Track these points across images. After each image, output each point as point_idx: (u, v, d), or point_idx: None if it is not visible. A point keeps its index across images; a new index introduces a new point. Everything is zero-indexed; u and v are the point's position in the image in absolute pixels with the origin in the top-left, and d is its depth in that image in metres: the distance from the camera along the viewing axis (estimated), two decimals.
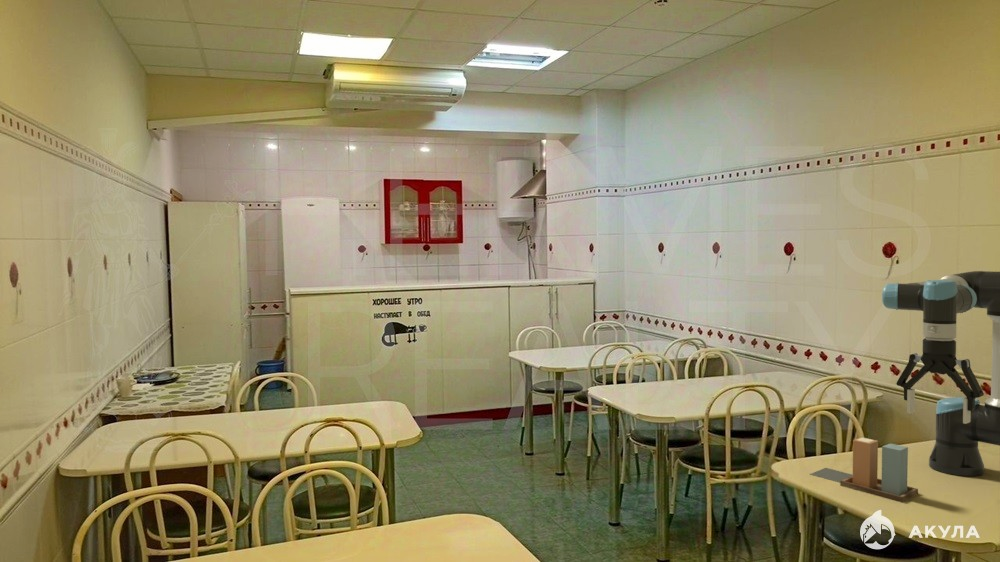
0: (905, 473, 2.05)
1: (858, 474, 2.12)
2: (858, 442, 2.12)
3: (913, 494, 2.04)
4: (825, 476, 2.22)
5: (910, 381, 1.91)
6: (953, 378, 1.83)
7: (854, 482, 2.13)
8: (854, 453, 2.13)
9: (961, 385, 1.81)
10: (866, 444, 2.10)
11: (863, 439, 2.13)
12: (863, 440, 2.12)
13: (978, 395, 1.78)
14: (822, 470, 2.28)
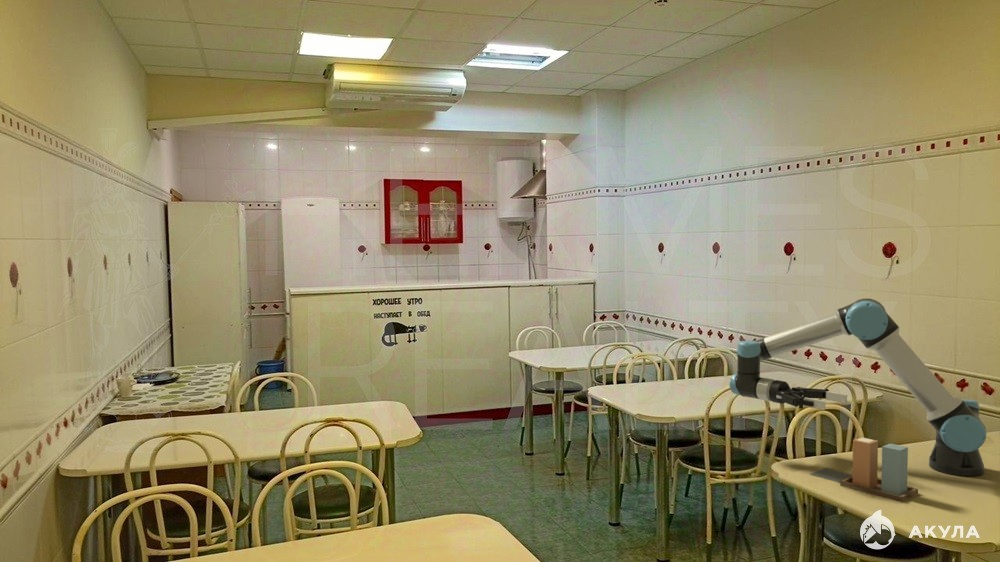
0: (905, 473, 2.05)
1: (858, 474, 2.12)
2: (858, 442, 2.12)
3: (913, 494, 2.04)
4: (825, 476, 2.22)
5: None
6: None
7: (854, 482, 2.13)
8: (854, 453, 2.13)
9: None
10: (866, 444, 2.10)
11: (863, 439, 2.13)
12: (863, 440, 2.12)
13: None
14: (822, 470, 2.28)
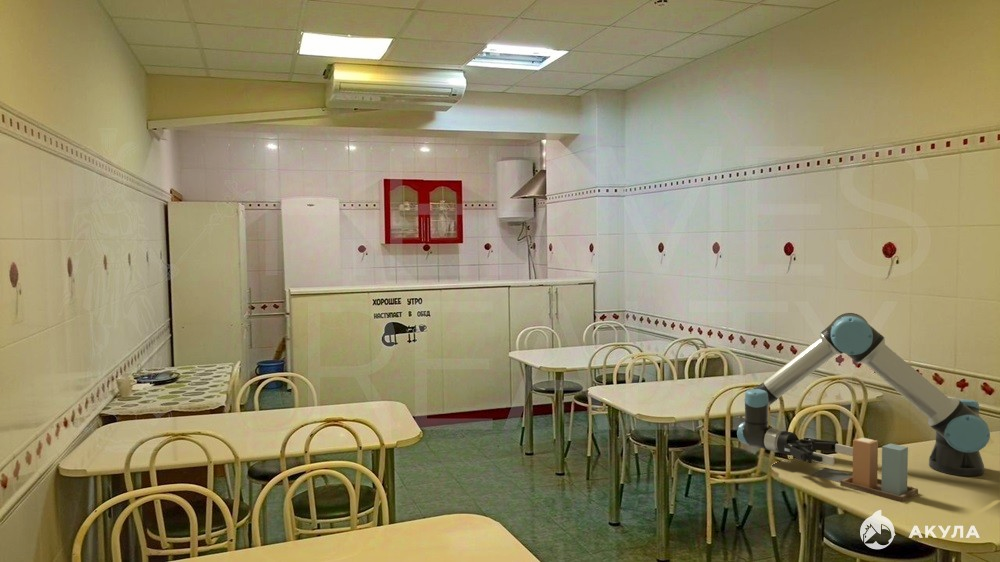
0: (905, 473, 2.05)
1: (858, 474, 2.12)
2: (858, 442, 2.12)
3: (913, 494, 2.04)
4: (825, 476, 2.22)
5: None
6: None
7: (854, 482, 2.13)
8: (854, 453, 2.13)
9: None
10: (866, 444, 2.10)
11: (863, 439, 2.13)
12: (863, 440, 2.12)
13: None
14: (822, 470, 2.28)
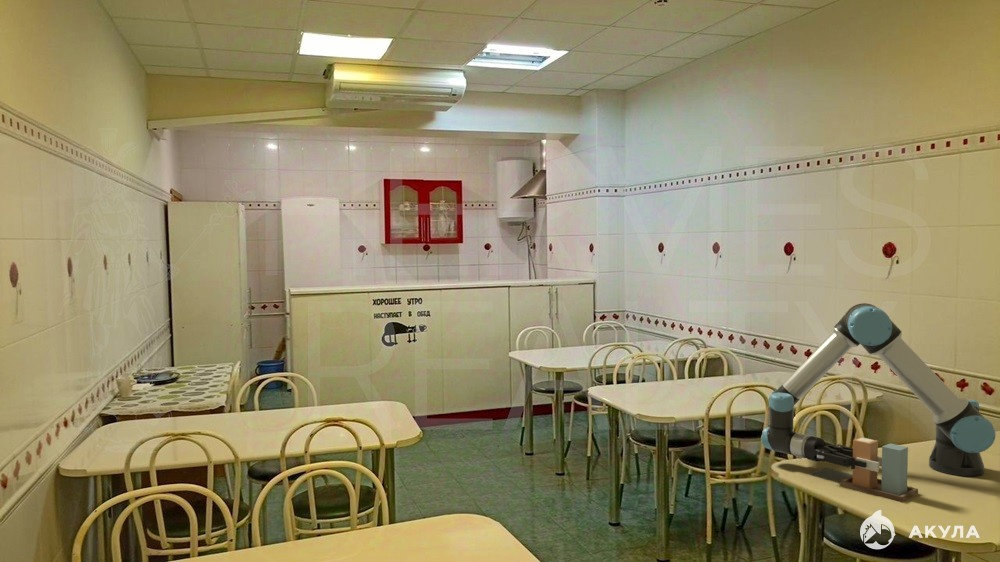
0: (905, 473, 2.05)
1: (858, 474, 2.12)
2: (858, 442, 2.12)
3: (913, 494, 2.04)
4: (825, 476, 2.22)
5: None
6: None
7: (854, 482, 2.13)
8: (854, 453, 2.13)
9: None
10: (866, 444, 2.10)
11: (863, 439, 2.13)
12: (863, 440, 2.12)
13: (847, 466, 2.11)
14: (822, 470, 2.28)
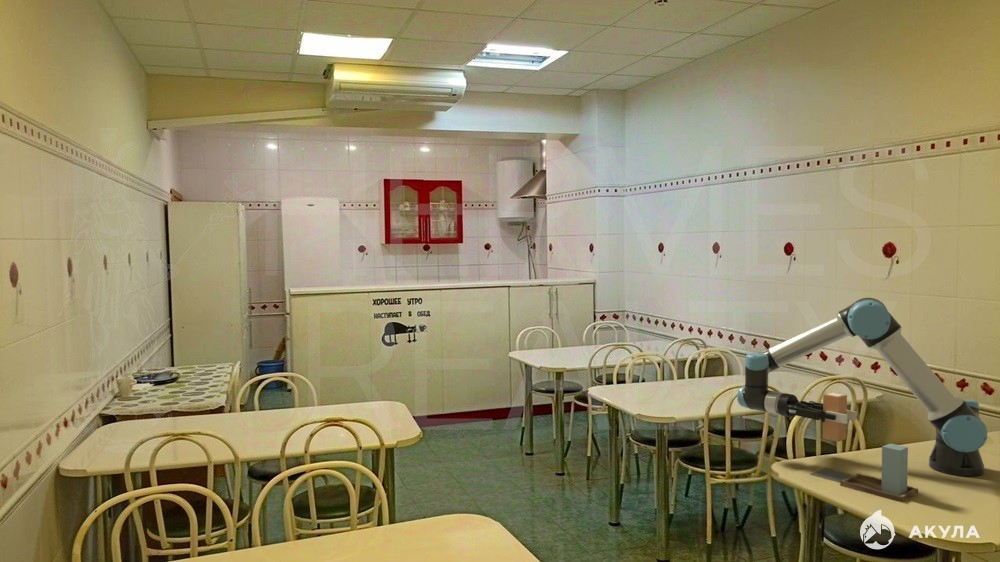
0: (905, 473, 2.05)
1: (828, 427, 2.21)
2: (828, 396, 2.20)
3: (913, 494, 2.04)
4: (825, 476, 2.22)
5: None
6: None
7: (824, 435, 2.22)
8: (824, 407, 2.22)
9: None
10: (835, 398, 2.19)
11: (833, 393, 2.22)
12: (833, 394, 2.21)
13: (817, 419, 2.20)
14: (822, 470, 2.28)
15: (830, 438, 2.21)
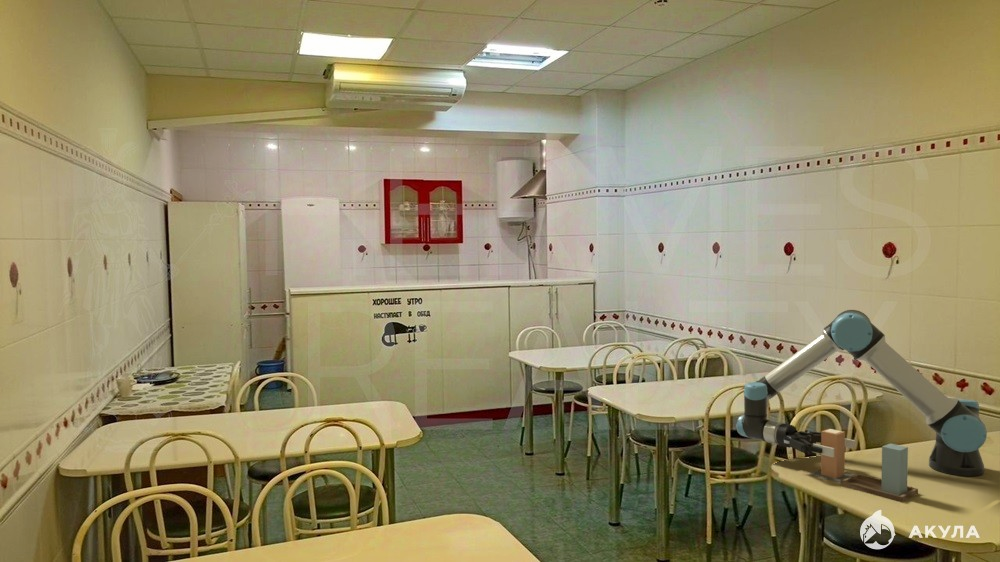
0: (905, 473, 2.05)
1: (826, 464, 2.22)
2: (826, 433, 2.22)
3: (913, 494, 2.04)
4: (825, 476, 2.22)
5: None
6: None
7: (822, 471, 2.23)
8: (822, 444, 2.23)
9: None
10: (833, 435, 2.20)
11: (831, 430, 2.23)
12: (831, 431, 2.22)
13: (804, 452, 2.21)
14: None
15: (828, 475, 2.22)
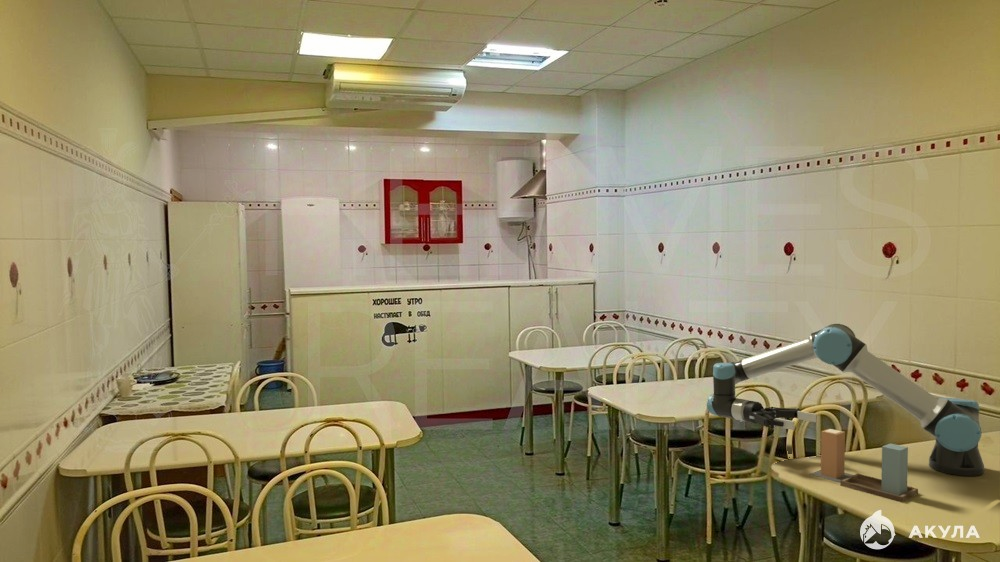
0: (905, 473, 2.05)
1: (826, 464, 2.22)
2: (826, 433, 2.22)
3: (913, 494, 2.04)
4: (825, 476, 2.22)
5: None
6: None
7: (822, 471, 2.23)
8: (822, 444, 2.23)
9: None
10: (833, 435, 2.20)
11: (831, 430, 2.23)
12: (831, 431, 2.22)
13: (766, 426, 2.31)
14: None
15: (828, 475, 2.22)
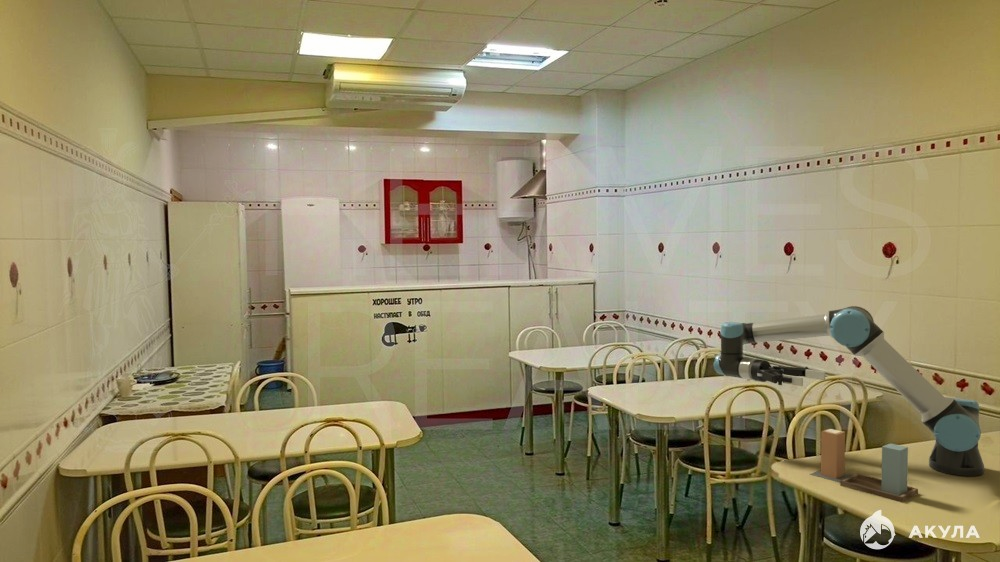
0: (905, 473, 2.05)
1: (826, 464, 2.22)
2: (826, 433, 2.22)
3: (913, 494, 2.04)
4: (825, 476, 2.22)
5: None
6: None
7: (822, 471, 2.23)
8: (822, 444, 2.23)
9: None
10: (833, 435, 2.20)
11: (831, 430, 2.23)
12: (831, 431, 2.22)
13: None
14: None
15: (828, 475, 2.22)
